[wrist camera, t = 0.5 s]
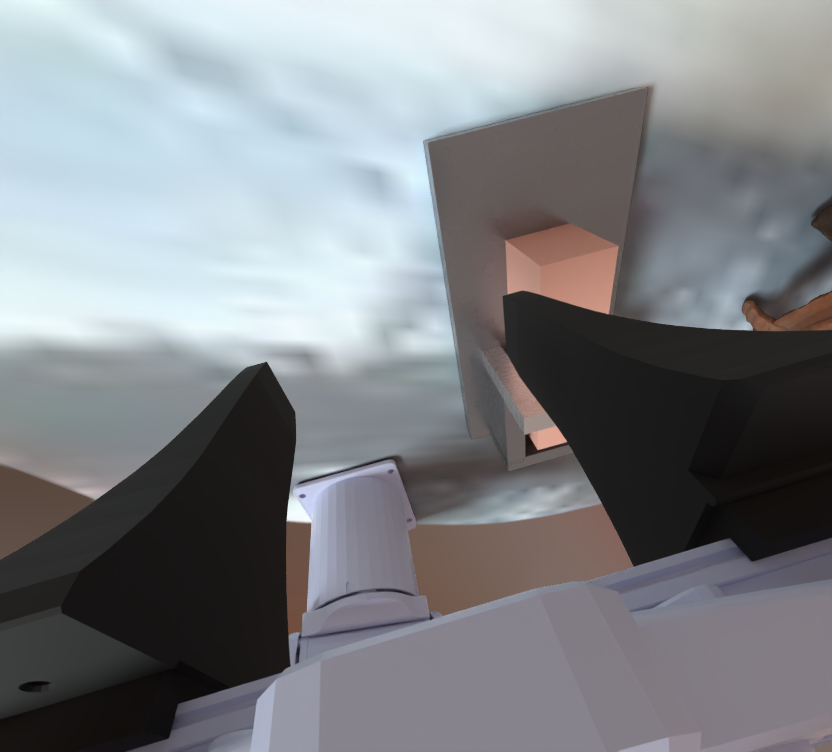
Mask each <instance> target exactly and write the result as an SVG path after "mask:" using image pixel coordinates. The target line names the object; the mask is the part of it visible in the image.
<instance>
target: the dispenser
mask: <svg viewBox="0 0 832 752" xmlns="http://www.w3.org/2000/svg"><path fill="white" fill-rule="evenodd" d="M647 93H648V87H644V88H633V89H629V90H625V91H621V92H617V93H613V94H609V95H605V96H601V97H597V98H593V99H589V100H585V101H581V102H577V103H573V104H569V105H565V106H561V107H557V108H553V109H549V110H545V111H541V112H537V113H533V114H529V115H525V116H521V117H517V118H513V119H509V120H505V121H501V122H497V123H493V124H489V125H485V126H481V127H477V128H473V129H470V130H466V131H462V132H458V133H454V134H450V135H446V136H442V137H438V138H434V139H430V140H426V141H423V144H424V150H425V157H426V163H427V170H428V176H429V183H430V189H431V196H432V202H433V209H434V215H435V222H436V228H437V235H438V241H439V247H440V254H441V260H442V267H443V273H444V280H445V286H446V293H447V299H448V306H449V312H450V319H451V325H452V332H453V338H454V345H455V351H456V358H457V364H458V371H459V377H460V384H461V390H462V397H463V403H464V410H465V416H466V423H467V429H468V432H469V435H470V437H471V439H476V438H480V437H483V436H487V435H491V437H492V439H493V441H494V443H495V445H496V447H497V449H498V451H499V453H500V455H501V457H502V459H503V461H504V463H505V465H506V467H507V469H508V471H512V470H515V469H519V468H522V467H526V466H529V465H533V464H537V463H540V462H544V461H547V460H551V459H554V458H558V457H561V456H565V455H569V454H572V453H573V451H572V449H571V448H570V446H569V444H568V442H565V443H562V444H558V445H555V446H551V447H547V448H544V449H540V450H537V448H536V446H535V445H534V443H533V441H532V440H531V438H530V436H529V435H528V434H529V433H533V432H536V431H540V430H544V429H547V428H551V427H554V426H556V425H555V424H554V422H553V421H552V420H551V418H550V417H549V416H548V414H547V413H546V412H545V410H544V409H543V408H542V406H541V405H540V404H539V402H538V401H537V400H536V399H535V397H534V396H533V395H532V393H531V392H530V390H529V389H528V388H527V386H526V385H525V384H524V382H523V381H522V380H521V378H520V377H519V375H518V373H517V372H516V370H515V368H514V366H513V364H512V362H511V360H510V358H509V357H508V355H507V353H506V340H505V326H504V312H503V297H502V296H504V295H508V289H507V266H506V243H505V240H508V239H512V238H516V237H520V236H524V235H528V234H531V233H535V232H539V231H543V230H547V229H550V228H554V227H558V226H562V225H566V224H570V223H571V224H573V225H575V226H577V227H579V228H581V229H584V230H586V231H588V232H590V233H592V234H594V235H597V236H599V237H601V238H603V239H605V240H607V241H610V242H612V243H614V244H616V245H618V246H619V247H618V254H617V261H616V268H615V274H614V281H613V288H612V295H611V302H610V309H609V314H610V315H613V314H614V307H615V301H616V294H617V288H618V281H619V275H620V268H621V262H622V255H623V249H624V242H625V236H626V229H627V223H628V216H629V210H630V203H631V197H632V190H633V184H634V178H635V171H636V165H637V158H638V152H639V145H640V139H641V132H642V126H643V119H644V113H645V106H646V100H647Z"/></svg>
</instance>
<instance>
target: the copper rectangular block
mask: <svg viewBox="0 0 832 752" xmlns="http://www.w3.org/2000/svg"><path fill="white" fill-rule="evenodd" d="M505 243H506V266H507V289H508V294H511V293H515V292H518V291H522V290H523V291H528V292H532V293H536V294H539V295H543V296H546V297H549V298H553V299H556V300H559V301H562V302H565V303H569V304H572V305H576V306H579V307H582V308H586V309H590V310H593V311H597V312H602V313H606V314H609V309H610V302H611V295H612V288H613V281H614V274H615V268H616V261H617V254H618V247H619V246H618V245H616V244H614V243H612V242H610V241H607V240H605V239H603V238H601V237H599V236H597V235H594V234H592V233H590V232H588V231H586V230H584V229H581V228H579V227H577V226H575V225H573V224H571V223H570V224H566V225H562V226H558V227H554V228H550V229H547V230H543V231H539V232H535V233H531V234H528V235H524V236H520V237H516V238H512V239H508V240H505ZM528 435H529V436H530V438H531V440H532V441H533V443H534V445H535V446H536V448H537V450H540V449H544V448H547V447H551V446H555V445H558V444H562V443H565V442H567V441H566V439H565V438H564V436H563V435H562V433H561V432H560V430H559V429H558V428H557V426H554V427H551V428H547V429H544V430H540V431H536V432H533V433H529V434H528Z"/></svg>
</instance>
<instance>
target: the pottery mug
mask: <svg viewBox="0 0 832 752" xmlns="http://www.w3.org/2000/svg"><path fill="white" fill-rule="evenodd" d="M811 225H812V226H813V227H814V228H816V229H818V230H819V231H820V232H821V233H822V234H823V235H825V236H826V237H827V238H828V239H829V240H831V241H832V205H830V206H829V207H828V208H826V209H825V210H824V211H822V212H821V213H820V214H819V215H818V216H817V217H816V218H815V219H814V220H813V221H812V222H811ZM742 312H743V314H744V315H745V316H746V320H747V321H748V322H749V323H751V325H752V327H753V330H754V331H807V330H832V291H831V292H828V293H826V294H823V295H820V296H818V297H816V298H814V299H813V300H811V301H810V302H809V303H808V304H807V305H805V306H803V307H801V308H798V309H795V310H792V311H790V312H788V313H786V314H785V315H783V316H781V317H780V318H779V319H777V320H776V319H774V318H772V317H770V316H768V315H767V314H765V313H764V312H763V311H762V310H761V309H760V308H759V307H758V305H757V303H755V302H754V301H746V302H745V303H744V305H743V307H742Z"/></svg>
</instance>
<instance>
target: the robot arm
mask: <svg viewBox="0 0 832 752" xmlns="http://www.w3.org/2000/svg"><path fill="white" fill-rule="evenodd" d="M502 297H503V312H504V326H505V340H506V353H507V355H508V357H509V358H510V360H511V362H512V364H513V366H514V368H515V370H516V372H517V373H518V375H519V377H520V378H521V380H522V381H523V382H524V384H525V385H526V386H527V388H528V389H529V390H530V392H531V393H532V395H533V396H534V397H535V399H536V400H537V401H538V402H539V404H540V405H541V406H542V408H543V409H544V410H545V412H546V413H547V414H548V416H549V417H550V418H551V420H552V421H553V422H554V424H555V425H556V426H557V428H558V429H559V430H560V432H561V433H562V435H563V436H564V438H565V439H566V441H567V442H568V444H569V446H570V448H571V449H572V451H573V453H574V454H575V456H576V458H577V459H578V461H579V463H580V465H581V466H582V468H583V470H584V472H585V473H586V475H587V477H588V479H589V481H590V482H591V484H592V486H593V488H594V490H595V491H596V493H597V495H598V497H599V499H600V501H601V502H602V504H603V506H604V508H605V510H606V512H607V514H608V515H609V517H610V520H611V521H612V523H613V525H614V527H615V529H616V531H617V533H618V535H619V537H620V539H621V541H622V543H623V545H624V547H625V549H626V551H627V553H628V556H629V558H630V560H631V562H632V564H633V566H634V567H632V568H629V569H625V570H622V571H619V572H615V573H612V574H608V575H605V576H602V577H598V578H595V579H592V580H589V581H586V582H579V581H574V582H569V583H563V584H558V585H552V586H547V587H541V588H536V589H532V590H528V591H525V592H522V593H519V594H515V595H512V596H509V597H505V598H502V599H499V600H495V601H492V602H489V603H485V604H482V605H479V606H475V607H472V608H469V609H465V610H462V611H459V612H455V613H452V614H449V615H446V616H442V615H441V614H440V613H438V612H430V613H429V609H428V603H427V598H426V596H419V593H418V587H417V581H416V576H415V570H414V565H413V559H412V553H411V548H410V542H409V536H408V531H407V530H410V529H413V528H415V527H416V526H417V522H416V519H415V516H414V513H413V511H412V508H411V505H410V502H409V499H408V497H407V494H406V491H405V488H404V485H403V483H402V480H401V477H400V474H399V471H398V469H397V466H396V463H395V461H394V460H390V459H389V460H385V461H381V462H378V463H374V464H370V465H367V466H363V467H360V468H356V469H352V470H349V471H345V472H342V473H338V474H334V475H331V476H327V477H324V478H320V479H316V480H313V481H309V482H306V483H302V484H298V485H296V486H295V487H294V489H293V493H294V495H295V496H296V498H297V499H298V501H299V502H300V504H301V505H302V507H303V508H304V510H305V511H306V513H307V514H308V515H309V517H310V518H311V520H312V527H311V528H312V529H311V545H310V546H311V547H310V564H309V583H308V601H307V612H306V613H304V614H303V622H302V637H301V633H292V634H291V635H289V637H288V621H287V620H288V619H287V596H286V595H287V594H286V520H287V508H288V500H289V492H290V484H291V477H292V469H293V462H294V454H295V445H296V419H295V411H294V409H293V407H292V406H291V404H290V402H289V400H288V399H287V397H286V395H285V393H284V391H283V390H282V388H281V386H280V384H279V383H278V381H277V379H276V377H275V376H274V374H273V372H272V370H271V368H270V367H269V365H268V363H267V362H264V363H261V364H257V365H254V366H250V367H247V368H245V369H244V370H243V371H242V372H240V373H239V374H238V375H237V376H236V377H235V378H234V379H233V380H232V381H231V382H230V383H229V384H228V385H227V386H226V387H225V388H224V389H223V390H222V391H221V393H220V394H219V395H218V396H217V397H216V398H215V399H214V400H213V401H212V402H211V403H210V404H209V405H208V406H207V407H206V408H205V409H204V410H203V411H202V412H201V413H200V414H199V415H198V416H197V417H196V418H195V419H194V420H193V421H192V422H191V423H190V424H189V425H188V426H187V427H186V428H185V429H184V430H183V431H182V432H181V433H179V434H178V435H177V436H176V437H175V438H174V439H173V440H172V441H171V442H170V443H169V444H168V445H167V446H165V447H164V448H163V449H162V450H161V451H160V452H158V453H157V454H156V455H155V456H154V457H152V458H151V459H150V460H149V461H148V462H146V463H145V464H144V465H143V466H141V467H140V468H139V469H138V470H136V471H135V472H134V473H133V474H131V475H130V476H129V477H127V478H126V479H124V480H123V481H122V482H120V483H119V484H118V485H116V486H115V487H113V488H112V489H111V490H109V491H108V492H107V493H105V494H104V495H102V496H101V497H100V498H98V499H97V500H96V501H94V502H93V503H91V504H90V505H88V506H87V507H85V508H84V509H82V510H81V511H79V512H78V513H77V514H75V515H73V516H72V517H70V518H69V519H67V520H66V521H64V522H63V523H61V524H59V525H58V526H56V527H55V528H53V529H51V530H50V531H48V532H47V533H45V534H44V535H42V536H41V537H39V538H37V539H35V540H34V541H32V542H31V543H29V544H27V545H25V546H24V547H22V548H20V549H19V550H17V551H15V552H13V553H12V554H10V555H8V556H6V557H5V558H3V559H1V560H0V752H816V751H815V750H814V748H813V747H817V746H820V745H822V744H826V743H829V742H832V330H807V331H747V330H722V329H705V328H695V327H684V326H674V325H666V324H658V323H652V322H646V321H640V320H634V319H628V318H623V317H618V316H614V315H610V314H606V313H602V312H597V311H593V310H590V309H586V308H582V307H579V306H576V305H572V304H569V303H565V302H562V301H559V300H556V299H553V298H549V297H546V296H543V295H539V294H536V293H532V292H528V291H523V290H522V291H518V292H515V293H511V294H508V295H504V296H502ZM390 469H392V470H390Z"/></svg>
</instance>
